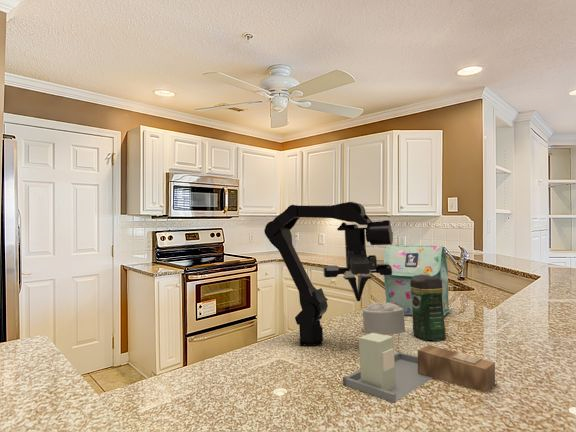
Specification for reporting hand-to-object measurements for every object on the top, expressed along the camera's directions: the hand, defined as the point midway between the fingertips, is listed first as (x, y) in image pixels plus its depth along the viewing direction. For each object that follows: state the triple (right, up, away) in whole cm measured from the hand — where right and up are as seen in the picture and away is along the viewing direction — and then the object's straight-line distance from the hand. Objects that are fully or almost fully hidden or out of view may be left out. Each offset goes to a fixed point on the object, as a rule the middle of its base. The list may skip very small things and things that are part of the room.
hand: (358, 300), depth 102 cm
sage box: (-1, -11, -28) cm, 30 cm away
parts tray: (+4, -12, -24) cm, 27 cm away
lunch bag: (+31, -14, +38) cm, 51 cm away
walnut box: (+11, -8, -21) cm, 25 cm away
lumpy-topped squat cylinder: (+11, -14, +16) cm, 24 cm away
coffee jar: (+23, -13, +7) cm, 27 cm away
